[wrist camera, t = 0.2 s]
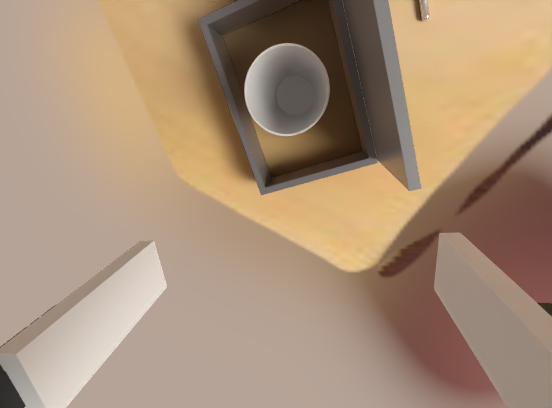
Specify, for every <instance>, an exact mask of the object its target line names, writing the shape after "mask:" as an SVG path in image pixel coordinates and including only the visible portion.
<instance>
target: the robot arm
mask: <svg viewBox="0 0 552 408" xmlns="http://www.w3.org/2000/svg"><path fill="white" fill-rule="evenodd" d="M166 287H167V286H166V282H165V278H164V275H163V271H162V268H161V264H160V261H159V257H158V254H157V250H156V246H155V243H154V241H140V242H138V243H137V244H136V245H135V246H133V247H132V248H130V249H129V250H128V251H127V252H125V253H124V254H123V255H121V256H120V257H119V258H117V259H116V260H115V261H113V262H112V263H111V264H110V265H108V266H107V267H106V268H104V269H103V270H102V271H100V272H99V273H98V274H96V275H95V276H94V277H92V278H91V279H90V280H88V281H87V282H86V283H85V284H84V285H82V286H81V287H79V288H78V289H77V290H75V291H74V292H73V293H71V294H70V295H69V296H67V297H66V298H65V299H64V300H62V301H61V302H60V303H58V304H57V305H55V306H54V307H52V308H51V309H49V310H48V311H47V312H46V313H44V314H43V315H42V316H41V317H40V318H38V319H37V320H35V321H34V322H32V323H31V324H30V325H29V326H28V327H26V328H24V329H23V330H22V331H21V332H19V333H18V334H17V335H16V336H14V337H13V338H12V339H10V340H9V341H7V342H6V343H5V344H3V345H2V346H1V347H0V408H24V407H26V408H66V407H67V406H68V405H69V403H70V402H71V401H72V400H73V399H74V397H75V396H76V395H77V394H78V392H79V391H80V390H81V389H82V388H83V387H84V385H85V384H86V383H87V382H88V381H89V379H90V378H91V377H92V376H93V375H94V373H95V372H96V371H97V370H98V368H99V367H100V366H101V365H102V364H103V363H104V361H105V360H106V359H107V358H108V357H109V356H110V354H111V353H112V352H113V351H114V350H115V348H116V347H117V346H118V345H119V344H120V342H121V341H122V340H123V339H124V338H125V336H126V335H127V334H128V333H129V332H130V330H131V329H132V328H133V327H134V326H135V324H136V323H137V322H138V321H139V320H140V318H141V317H142V316H143V315H144V314H145V312H146V311H147V310H148V309H149V308H150V306H151V305H152V304H153V303H154V302H155V300H156V299H157V298H158V297H159V296H160V295H161V293H162V292H163V291H164V290H165V289H166ZM434 290H435V291H436V293H437V295H438V296H439V298H440V299H441V301H442V302H443V304H444V306H445V307H446V309H447V311H448V312H449V314H450V315H451V317H452V319H453V320H454V322H455V324H456V325H457V327H458V328H459V330H460V332H461V333H462V335H463V337H464V338H465V340H466V341H467V343H468V344H469V346H470V348H471V350H472V351H473V353H474V354H475V356H476V358H477V359H478V361H479V362H480V364H481V366H482V367H483V369H484V370H485V372H486V374H487V375H488V377H489V379H490V380H491V382H492V383H493V385H494V386H495V388H496V390H497V391H498V393H499V395H500V396H501V398H502V400H503V401H504V403H505V404H506V406H507V408H552V304H551V303H536V302H535V301H534V300H533V299H532V298H531V297H530V296H529V295H528V294H526V293H525V292H524V291H523V290H522V289H521V288H520V287H519V286H518V285H517V284H516V283H514V282H513V281H512V280H511V279H510V278H509V277H508V276H507V275H506V274H505V273H503V272H502V271H501V270H500V269H499V268H498V267H497V266H496V265H494V263H493V262H491V261H490V260H489V259H488V258H487V257H486V256H485V255H484V254H483V253H482V252H481V251H479V250H478V249H477V248H476V247H475V246H474V245H473V244H472V243H470V241H469V240H467V239H466V238H465V237H464V236H463V235H462V234H461V233H440V235H439V245H438V255H437V263H436V273H435V282H434Z"/></svg>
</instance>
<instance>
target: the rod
mask: <svg viewBox="0 0 552 408" xmlns="http://www.w3.org/2000/svg"><path fill="white" fill-rule="evenodd" d="M419 4H420V11H421V18H422V20H423V21H427V20H428V19H429V17H430V12H429V5H428V0H419Z"/></svg>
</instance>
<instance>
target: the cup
mask: <svg viewBox="0 0 552 408" xmlns="http://www.w3.org/2000/svg"><path fill="white" fill-rule="evenodd" d="M244 93H245V101H246V105H247V108H248V110H249V112H250V114H251V116H252V118H253V119H254V120H255V122H256V123H257V124H258V125H259V126H260V127H262V128H263V129H264V130H266V131H268V132H270V133H272V134H275V135H280V136H293V135H297V134H300V133H303V132H305V131H307V130H308V129H310V128H311V127H312V126H314V125H315V124H316V123H317V122H318V120H319V119H320V118H321V116H322V115H323V113H324V111H325V109H326V107H327V104H328V100H329V94H330V83H329V77H328V74H327V71H326V68H325V66H324V65H323V63H322V61H321V60H320V59H319V57H318V56H317V55H316V54H315V53H313V52H312V51H311V50H309V49H308V48H306V47H304V46H301V45H298V44H293V43H283V44H278V45H274V46H272V47H270V48H268V49H266V50H265V51H263V52H262V53H261V54H260V55H259V56H258V57H257V58H256V59H255V60H254V62H253V63H252V65H251V67H250V68H249V71H248V73H247V76H246V80H245V88H244Z"/></svg>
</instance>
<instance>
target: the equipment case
mask: <svg viewBox="0 0 552 408" xmlns="http://www.w3.org/2000/svg"><path fill="white" fill-rule="evenodd" d="M298 1H301V0H238V1H236V2H234V3H231V4H229V5H227V6H225V7H223V8H221V9H219V10H217V11H215V12H213V13H211V14H208V15H206V16H204V17H202V18H200V19H198V21H199V24H200V27H201V30H202V33H203V35H204V38H205V41H206V44H207V46H208V49H209V52H210V55H211V57H212V60H213V63H214V66H215V69H216V71H217V74H218V77H219V80H220V82H221V85H222V88H223V91H224V93H225V96H226V99H227V102H228V107H229V109H230V112H231V115H232V118H233V121H234V123H235V126H236V128H237V129H238V132H239V135H240V138H241V141H242V143H243V146H244V149H245V152H246V154H247V157H248V160H249V163H250V165H251V168H252V171H253V174H254V177H255V179H256V182H257V185H258V188H259V190H260V193H261V195H264V194H267V193H271V192H275V191H278V190H282V189H285V188H289V187H293V186H296V185H300V184H303V183H307V182H310V181H314V180H318V179H321V178H325V177H328V176H332V175H336V174H339V173H343V172H346V171H350V170H354V169H357V168H361V167H364V166H368V165H372V164H375V163H378V162H377V160H378V161H379V162H380V163H381V164H382V165H383V166H384V167H385V168H386V169H387V170H388V171H389V172H390V173H391V174H392V175H393V176H395V177H396V178H397V179H398V180H399V181H400V182H401V183H402V184H403V185H404V186H405V187H406V188H407V189H408V190H409V191H412V190H416V189H420V188H421V184H420V179H419V173H418V167H417V162H416V156H415V150H414V145H413V139H412V133H411V128H410V122H409V116H408V111H407V105H406V99H405V93H404V88H403V82H402V76H401V71H400V65H399V59H398V54H397V48H396V42H395V37H394V31H393V25H392V20H391V14H390V8H389V3H388V0H328V4H329V8H330V12H331V17H332V21H333V25H334V30H335V34H336V38H337V43H338V47H339V51H340V55H341V60H342V64H343V68H344V73H345V77H346V81H347V86H348V90H349V94H350V98H351V103H352V107H353V111H354V116H355V120H356V124H357V129H358V133H359V137H360V141H361V146H362V150H363V151H362V152H358V153H355V154H351V155H348V156H345V157H341V158H338V159H334V160H331V161H327V162H324V163H321V164H317V165H314V166H310V167H307V168H304V169H300V170H297V171H293V172H290V173H286V174H283V175H280V176H276V177H273V178H271V175H270V172H269V169H268V166H267V163H266V161H265V158H264V155H263V152H262V149H261V146H260V143H259V140H258V137H257V134H256V131H255V128H254V126H253V123H252V120H251V117H250V114H249V111H248V108H247V105H246V102H245V99H244V96H243V93H242V90H241V88H240V85H239V82H238V79H237V76H236V73H235V70H234V67H233V64H232V61H231V58H230V55H229V53H228V50H227V47H226V44H225V41H224V38H223V35H225V34H227V33H229V32H232V31H234V30H236V29H238V28H241V27H243V26H245V25H247V24H249V23H252V22H254V21H256V20H258V19H261V18H263V17H265V16H267V15H269V14H272V13H274V12H276V11H278V10H281V9H283V8H285V7H287V6H289V5H292V4H294V3H296V2H298ZM342 1H343V2H342ZM343 5H344V7H343ZM344 10H345V11H344ZM345 14H346V16H345ZM346 19H347V20H346ZM347 23H348V25H347ZM348 28H349V29H348ZM349 33H350V34H349ZM350 37H351V39H350ZM351 42H352V43H351ZM352 46H353V48H352ZM353 51H354V52H353ZM354 55H355V57H354ZM355 60H356V61H355ZM356 65H357V66H356ZM357 69H358V71H357ZM358 74H359V75H358ZM359 78H360V80H359ZM360 83H361V84H360ZM361 87H362V89H361ZM362 92H363V93H362ZM363 97H364V98H363ZM364 101H365V102H364ZM365 106H366V107H365ZM366 110H367V112H366ZM367 115H368V116H367ZM368 119H369V121H368ZM369 124H370V125H369ZM370 129H371V130H370ZM371 133H372V134H371ZM372 138H373V139H372ZM373 142H374V144H373ZM374 147H375V148H374ZM375 151H376V153H375ZM376 156H377V157H376Z"/></svg>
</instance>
